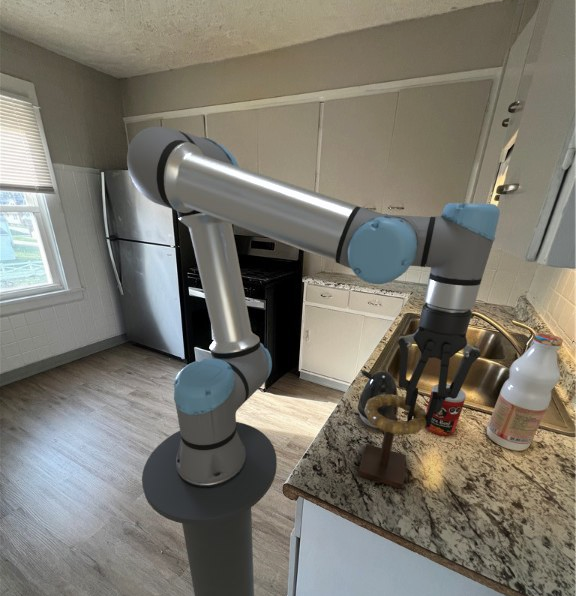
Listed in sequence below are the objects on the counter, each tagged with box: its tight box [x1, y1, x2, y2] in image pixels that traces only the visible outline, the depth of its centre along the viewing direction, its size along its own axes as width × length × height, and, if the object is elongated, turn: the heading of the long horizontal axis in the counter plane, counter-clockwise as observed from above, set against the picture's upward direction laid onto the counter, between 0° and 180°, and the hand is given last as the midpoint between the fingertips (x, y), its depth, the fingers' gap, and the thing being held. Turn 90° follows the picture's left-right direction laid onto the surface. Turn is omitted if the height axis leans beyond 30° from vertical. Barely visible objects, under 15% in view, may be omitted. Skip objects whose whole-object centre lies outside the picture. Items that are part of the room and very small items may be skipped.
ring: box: [364, 394, 426, 436], centre depth 63 cm, size 12×12×2 cm
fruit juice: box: [486, 332, 564, 452], centre depth 74 cm, size 9×9×28 cm
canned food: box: [425, 383, 467, 436], centre depth 81 cm, size 8×8×11 cm
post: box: [358, 415, 407, 490], centre depth 67 cm, size 9×9×14 cm
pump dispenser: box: [357, 369, 399, 429], centre depth 81 cm, size 10×10×15 cm
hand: (418, 420), depth 62 cm, fingers closed on ring, 3 cm apart
